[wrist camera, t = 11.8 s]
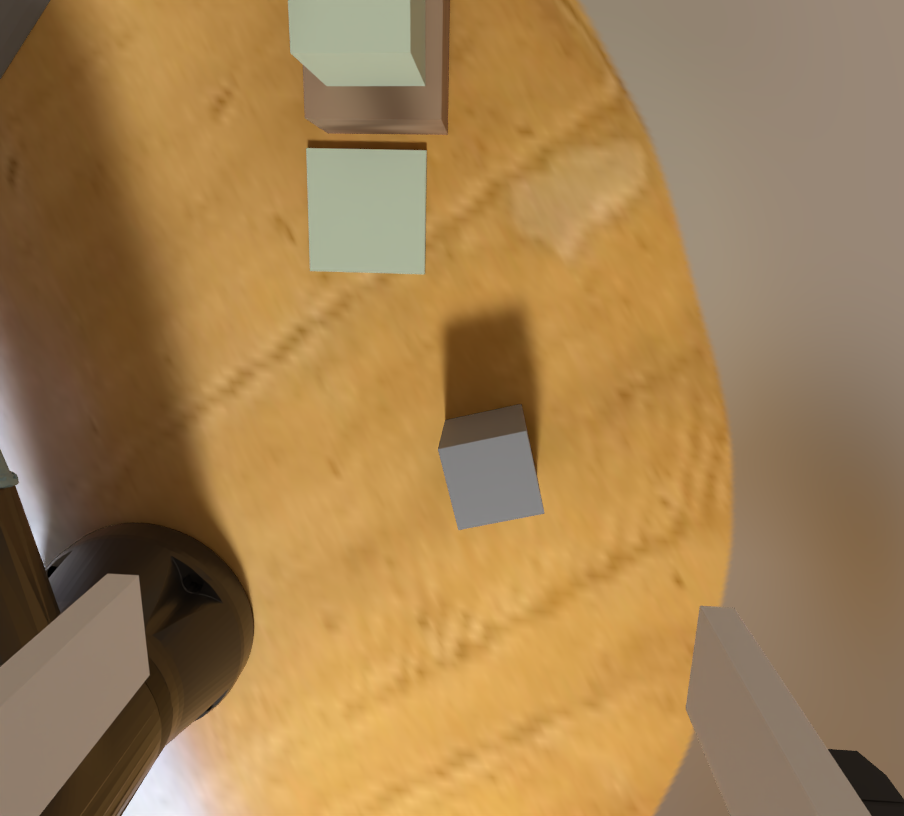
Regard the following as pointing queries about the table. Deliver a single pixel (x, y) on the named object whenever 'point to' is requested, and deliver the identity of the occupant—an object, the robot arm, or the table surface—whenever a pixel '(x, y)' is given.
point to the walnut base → (389, 93)
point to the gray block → (490, 467)
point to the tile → (367, 210)
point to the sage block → (360, 41)
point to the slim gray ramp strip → (16, 26)
